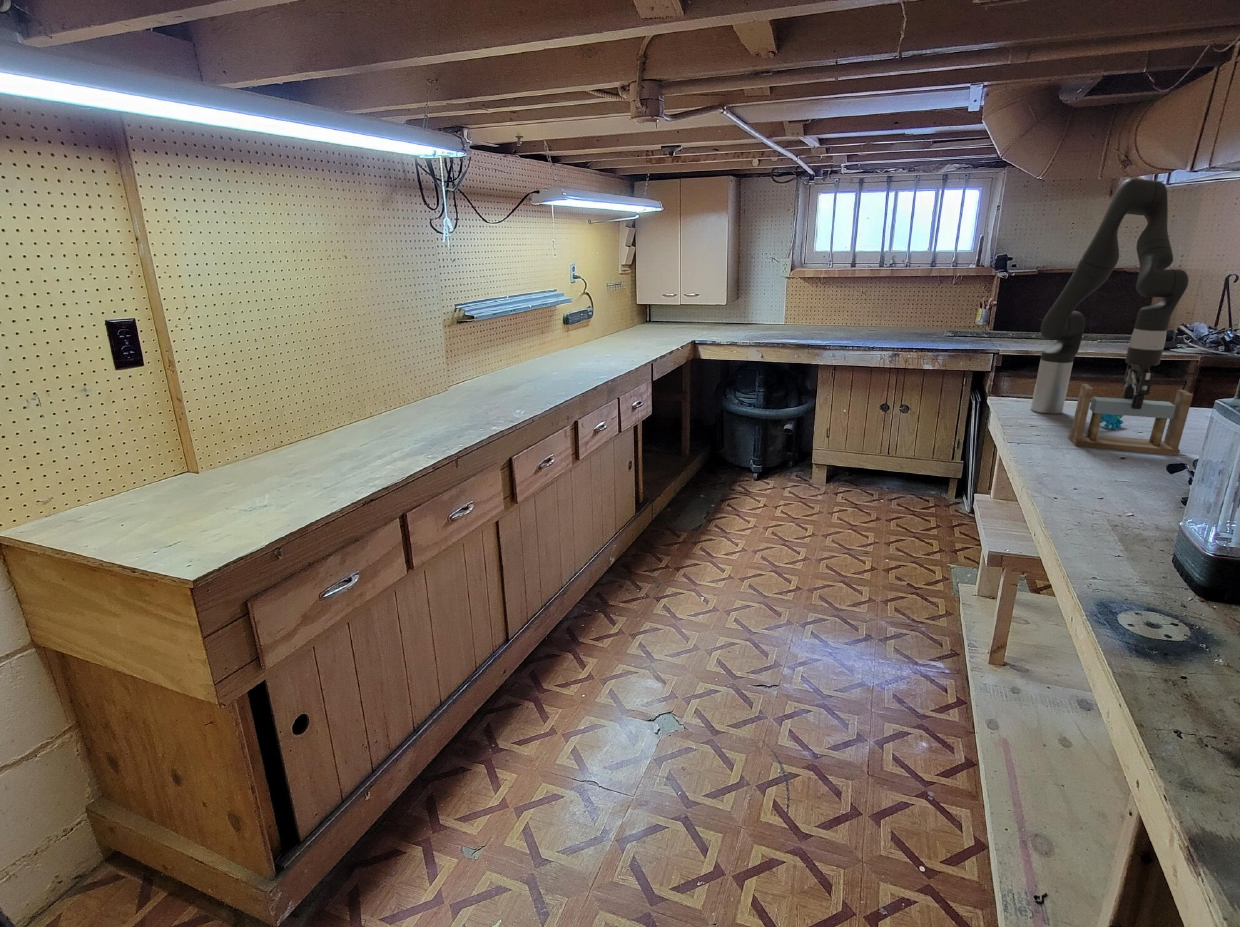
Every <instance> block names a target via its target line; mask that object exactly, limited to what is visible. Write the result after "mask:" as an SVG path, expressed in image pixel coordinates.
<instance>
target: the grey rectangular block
mask: <svg viewBox="0 0 1240 927" xmlns="http://www.w3.org/2000/svg"><path fill="white" fill-rule="evenodd" d="M1132 400H1133V399H1123V398H1117V397H1105V396H1104V397H1101V396H1092V397H1091V401H1090V405H1089V410H1090V411H1091V413H1092V412H1093V413H1099V414H1113V415H1124V416H1128V417H1139V418H1140V417H1141V418H1143V417H1144V418H1154V419H1155V418H1166V419H1167V420H1168V419H1169V420H1170V419H1172V418H1173V414H1174V410H1175V407H1176V406H1175V405H1174V403H1172V402H1170V401H1163V400H1162V401H1161V400H1160V401H1159V400H1147V399H1144V400H1143V404H1142V407H1141V409H1132V408H1131V404H1132Z"/></svg>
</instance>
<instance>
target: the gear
mask: <svg viewBox="0 0 1240 927" xmlns="http://www.w3.org/2000/svg"><path fill="white" fill-rule="evenodd" d="M1124 416H1125V415H1113V414H1102V417H1101V421H1100V424H1102V423H1105V424H1104V425H1103V426H1104V427H1105V429H1108V428H1110V429H1111V430H1112V431H1116V430H1118V429H1121V428H1122V425H1123V423H1124V421H1123V420H1121V419H1122V418H1123V417H1124Z"/></svg>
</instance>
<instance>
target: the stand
mask: <svg viewBox="0 0 1240 927" xmlns="http://www.w3.org/2000/svg"><path fill="white" fill-rule="evenodd" d="M1093 392H1094V387H1092V386H1090V384H1087V383H1081V386H1080V390H1079V394H1078V400H1077V404H1076V408H1075V413H1074V418H1073V422H1072V426H1071V431H1070V432H1069V433H1068V439H1069V440H1070V442H1071V443H1072V444H1073V445H1074V446H1075V447H1080V448H1092V449H1101V450H1102V449H1104V450H1113V451H1126V452H1135V453H1148V454H1158V455H1170V456H1179V455H1180V452H1181V450H1180V449H1179V446H1180V442H1181V439H1182V436H1183V432H1184V428H1185V425H1186V422H1187V418H1188V414H1189V412H1190V407H1191V405H1192V404H1191V403H1192V400H1193V397H1194V394H1192V393H1191V392H1189V391H1187V390H1185V389H1177V392H1176V395H1175V400H1174V403H1173V405H1175V406H1176V407H1175V410H1174V414H1173V418H1172V419H1169V421H1168V419H1166V418H1154V422H1153V425H1152V429H1151V433H1150V437H1149V439H1148V438H1147V439H1146V438H1139V437H1138V438H1135V437H1123V436H1114V435H1113V436H1112V435H1110V436H1109V435H1101V434H1100V435H1099V434H1098V433H1099V430H1100V426H1101V423H1100V421H1101V417H1102V414H1099V413H1093V412H1092V411H1091V416H1090V420H1089V423H1088V424H1089V425H1088V427H1087V428H1088V430H1087V431H1086V432H1087V433H1084V431H1085V428H1086V422H1087V417H1088V414H1089V410H1090V405H1091V400H1092V397H1093V396H1092V395H1093ZM1167 421H1168V425H1167ZM1166 425H1167V428H1166ZM1165 429H1166V431H1165ZM1164 432H1166V433H1165V435H1164ZM1163 436H1164V439H1162V438H1163Z"/></svg>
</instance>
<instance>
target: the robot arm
mask: <svg viewBox="0 0 1240 927" xmlns="http://www.w3.org/2000/svg"><path fill="white" fill-rule="evenodd" d="M1168 201H1169V200H1168V190H1167V187H1166V185H1165V183H1163V182H1162V181H1159V180H1153V179H1152V180H1151V179H1143V178H1128V179H1125V180H1124V181H1123V182H1122V183H1121V184H1120V185H1119V186H1118V188H1117V189H1116V191H1115V193H1114V195H1113V197H1112V198H1111V201H1110V202H1109V204H1108V205H1109V206H1108V207H1107V209H1106V211H1105V214H1104V216H1103V218H1102V220H1101V222H1100V224H1099V227H1098V229H1097V231H1096V232H1095V234H1094V236H1093V237H1092V239H1091V241H1090V243H1089V245H1088V246H1087V248H1086V250H1085V251H1084V253H1083V254H1082V256H1081V258H1080V260H1079V261H1078V263H1077V265H1076V267H1075V269H1074V271H1073V272H1072V275H1071V276H1070V278H1069V280H1068V281H1067V282H1066V284H1065V286H1064V288H1063V290H1062V291H1061V292H1060V295H1059V296H1058V298H1057V299H1056V300H1055V301H1054V303H1053V304H1052V306H1051V307H1050V308H1049V310H1048V311H1047V313H1046V314H1045V316H1044V318H1043V319H1042V322H1041V325H1040V334H1041V336H1042V338H1043V339H1046V340H1047V341H1056V342H1055V343H1054V344H1053V345H1052V346H1050V347H1048V348H1046V349H1044V350H1042V352H1041V356H1040V361H1039V364H1038V365H1039V366H1038V371H1037V376H1036V381H1035V385H1034V390H1033V396H1032V402H1031V406H1030V410H1031V411H1034V412H1037V413H1042V414H1051V415H1052V414H1053V415H1055V414H1056V415H1057V414H1062V413H1063V410H1064V406H1065V402H1066V397H1067V392H1068V389H1069V388H1068V387H1069V382H1070V379H1071V375H1072V374H1071V373H1072V369H1073V364H1074V361H1075V360H1074V359H1075V357H1076V356H1077V355H1078V352H1079V350H1080V345H1081V343H1082V339H1083V335H1084V332H1085V325H1086V322H1085V320H1086V319H1085V317H1084V315H1083V313H1082V312H1080V311H1078V310H1075V309H1077V306H1078V305H1079V304H1080V303H1081V302H1083V300H1085V299H1086V298H1088V297H1089V296H1091V294H1093V293H1094V292H1096V291H1097V290H1098V289H1099V288H1100V287H1102V286H1103V285H1104V284H1105V283H1106V282H1107V280H1108V279H1109V277H1110V276H1111V274H1112V273H1113V271H1114V270H1115V267H1116V266H1117V264H1118V262H1119V260H1120V248H1119V241H1118V239H1119V238H1118V233H1119V228H1120V225H1121V223H1122V221H1123V219H1124V217H1125V216H1126V215H1134V216H1144V218H1145V219H1146V222H1147V225H1146V226H1145V228H1144V229H1143V231H1142V232H1141V233H1140V235H1139V237H1138V239H1137V242H1136V247H1135V248H1136V253H1137V258H1138V262H1139V268H1138V269H1139V270H1138V276H1137V281H1136V285H1135V288H1136V291H1137V293H1138V294H1139V295H1140V296H1141V297H1144V298H1161V299H1159V301H1158V302H1157V303H1156V304H1153V305H1148V306H1143V307H1141V308H1140V309H1138V312H1137V316H1136V320H1135V323H1134V324H1135V325H1134V328H1133V332H1132V333H1131V336H1130V339H1129V343H1128V347H1127V352H1126V357H1125V360H1124V361H1125V363H1126V364H1127V365H1126V370H1125V373H1124V379H1123V382H1122V385H1123V388H1124V391H1123V392H1124V393H1123V396H1122V399H1133V400H1132V404H1131V408H1132V409H1141V407H1142V404H1143V400H1145V397H1146V396H1149V395H1150V391H1151V389H1152V388H1151V387H1152V384H1153V380H1154V376H1155V372H1151V370H1150V369H1151V367H1155V366H1158V365H1160V364H1161V360H1162V355H1163V352H1164V348H1165V344H1166V339H1167V331H1168V328H1169V326H1170V325H1169V324H1170V321H1171V316H1172V314H1173V312H1174V311H1175V308H1176V307H1177V305H1178V303H1179V301H1180V300H1181V299H1182V297H1183V295H1184V293H1185V292H1186V290H1187V288H1188V285H1189V276H1188V273H1187V272H1186V271H1185V270H1182V269H1168V268H1169V267H1170V266H1171V265H1172V264H1173V262H1174V254H1173V250H1172V246H1171V242H1170V238H1169V232H1168V212H1169V211H1168Z"/></svg>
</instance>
